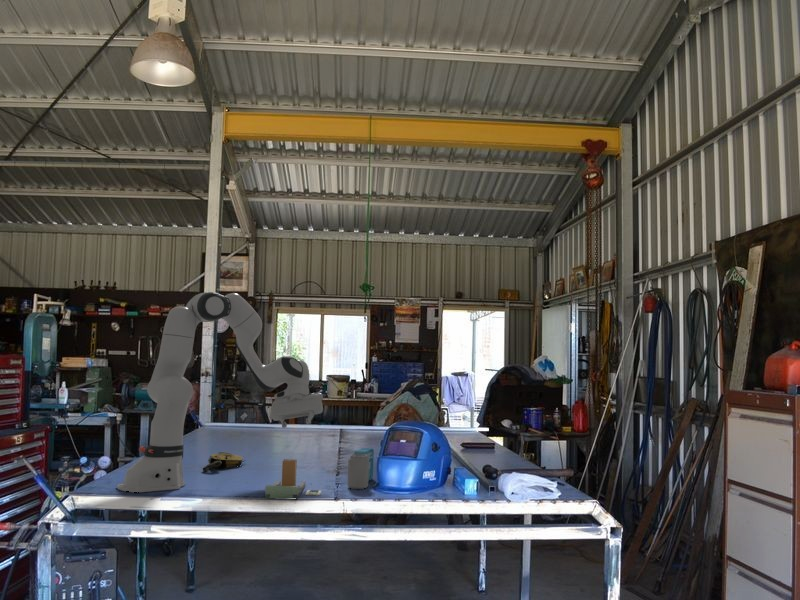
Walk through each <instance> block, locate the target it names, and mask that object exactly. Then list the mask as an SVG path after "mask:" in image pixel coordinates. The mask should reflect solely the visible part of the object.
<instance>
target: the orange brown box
mask: <svg viewBox="0 0 800 600" xmlns="http://www.w3.org/2000/svg"><path fill="white" fill-rule="evenodd" d="M297 463H298V459H289V458H288V459H287V458H286V459H283V460H282V467H281V469H282V470H281V485H282V486H297V484H296V483H297V466H298V465H297Z"/></svg>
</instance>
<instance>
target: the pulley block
mask: <svg viewBox="0 0 800 600" xmlns="http://www.w3.org/2000/svg"><path fill="white" fill-rule="evenodd" d="M207 462H208V464H207V465H205V466H204V467H203V468H202V471H203V472H207V471H211V470H226V469H225V468H227V469H232V468H231V467H237V466H240V465H241V464H242V465H243V462H244V463H245V462H247V459H246V460H244V458H243V456H240V455H237V454H233V453H228V452H217V453H214V454H213V453H212V454H210V456H209V458H208V460H207ZM237 468H238V467H237Z"/></svg>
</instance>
